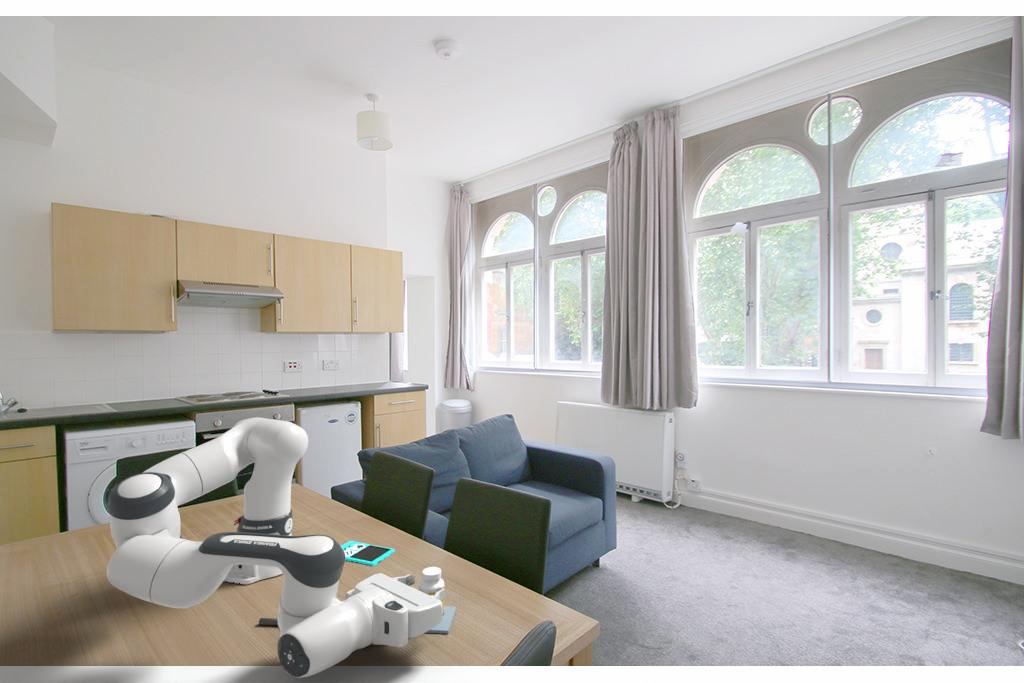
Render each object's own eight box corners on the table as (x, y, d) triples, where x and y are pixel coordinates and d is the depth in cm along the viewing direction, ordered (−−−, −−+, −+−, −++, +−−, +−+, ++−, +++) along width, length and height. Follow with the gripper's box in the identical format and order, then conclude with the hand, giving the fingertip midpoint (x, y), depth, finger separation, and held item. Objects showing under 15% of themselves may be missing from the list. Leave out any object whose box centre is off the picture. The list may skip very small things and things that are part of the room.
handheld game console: (350, 544, 143) (350, 539, 143) (396, 553, 137) (396, 548, 137) (326, 558, 134) (326, 553, 134) (373, 567, 128) (373, 562, 128)
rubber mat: (404, 631, 98) (404, 628, 98) (416, 607, 107) (416, 605, 107) (448, 633, 98) (448, 630, 98) (456, 609, 107) (456, 606, 107)
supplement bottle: (448, 612, 104) (449, 567, 104) (436, 626, 99) (437, 578, 99) (426, 608, 106) (426, 563, 106) (413, 621, 101) (414, 574, 101)
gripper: (340, 612, 97) (395, 585, 108) (407, 651, 84) (462, 616, 95) (340, 580, 97) (395, 556, 108) (407, 615, 84) (462, 584, 95)
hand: (427, 585), depth 101 cm, fingers open, 8 cm apart
